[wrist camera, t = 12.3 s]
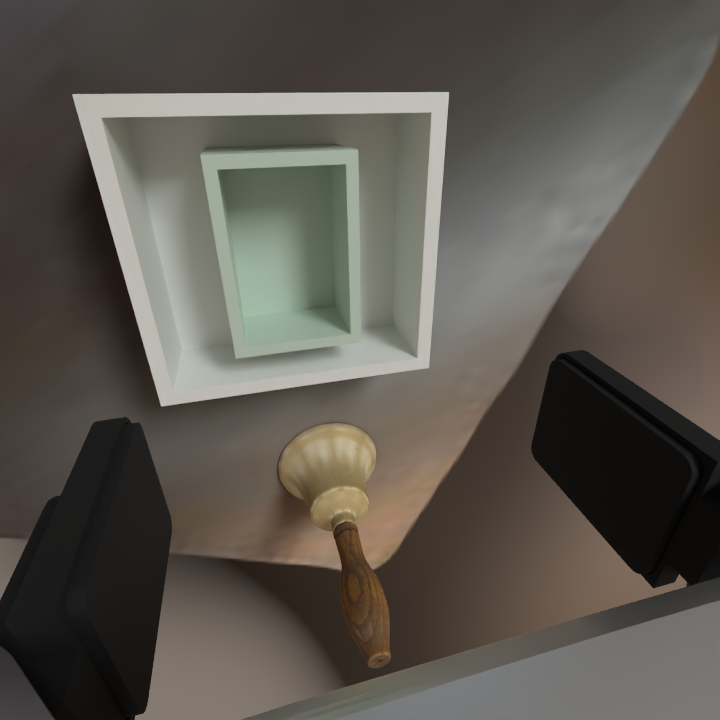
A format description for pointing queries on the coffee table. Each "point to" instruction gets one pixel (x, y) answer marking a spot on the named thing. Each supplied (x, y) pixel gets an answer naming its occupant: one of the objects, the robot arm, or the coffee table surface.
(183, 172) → the big crate
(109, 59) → the coffee table surface
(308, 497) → the hand bell
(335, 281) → the small crate
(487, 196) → the coffee table surface
